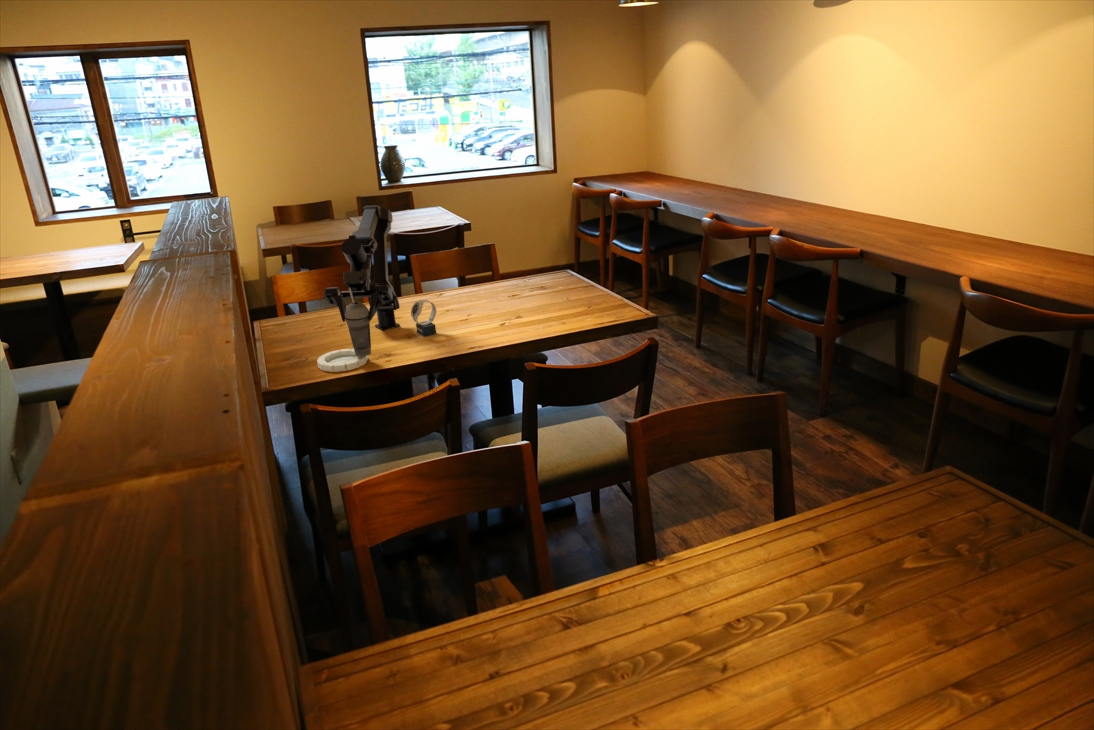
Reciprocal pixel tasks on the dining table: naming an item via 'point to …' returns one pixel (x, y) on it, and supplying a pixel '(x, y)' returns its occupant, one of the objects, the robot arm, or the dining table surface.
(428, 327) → the watch
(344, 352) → the ring tray
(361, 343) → the beverage cup
